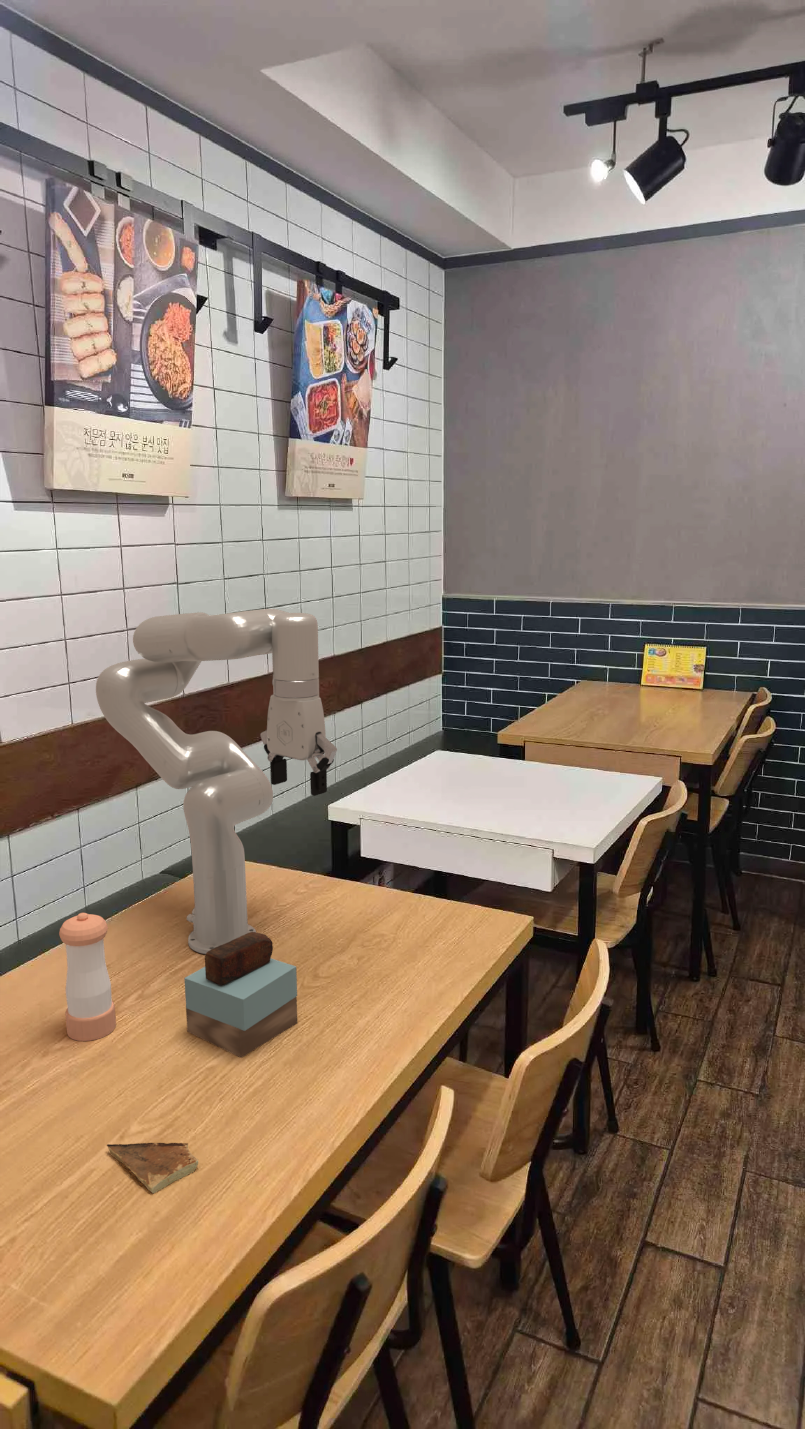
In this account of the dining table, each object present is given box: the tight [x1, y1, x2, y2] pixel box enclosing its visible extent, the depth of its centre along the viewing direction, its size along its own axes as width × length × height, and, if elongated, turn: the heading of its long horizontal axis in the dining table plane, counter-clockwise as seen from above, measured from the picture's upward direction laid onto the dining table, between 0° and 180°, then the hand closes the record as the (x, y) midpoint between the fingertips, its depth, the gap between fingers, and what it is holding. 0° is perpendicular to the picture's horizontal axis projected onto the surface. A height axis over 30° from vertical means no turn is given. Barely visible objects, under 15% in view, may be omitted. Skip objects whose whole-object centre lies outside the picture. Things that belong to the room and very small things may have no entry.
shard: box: [106, 1142, 199, 1194], centre depth 115 cm, size 11×8×2 cm
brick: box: [204, 931, 274, 986], centre depth 143 cm, size 11×4×5 cm, turn 143°
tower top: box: [183, 957, 298, 1031], centre depth 143 cm, size 12×12×5 cm
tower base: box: [185, 996, 298, 1058], centre depth 145 cm, size 12×12×5 cm
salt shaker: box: [58, 912, 117, 1042], centre depth 143 cm, size 7×7×19 cm
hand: (298, 788), depth 157 cm, fingers open, 9 cm apart
